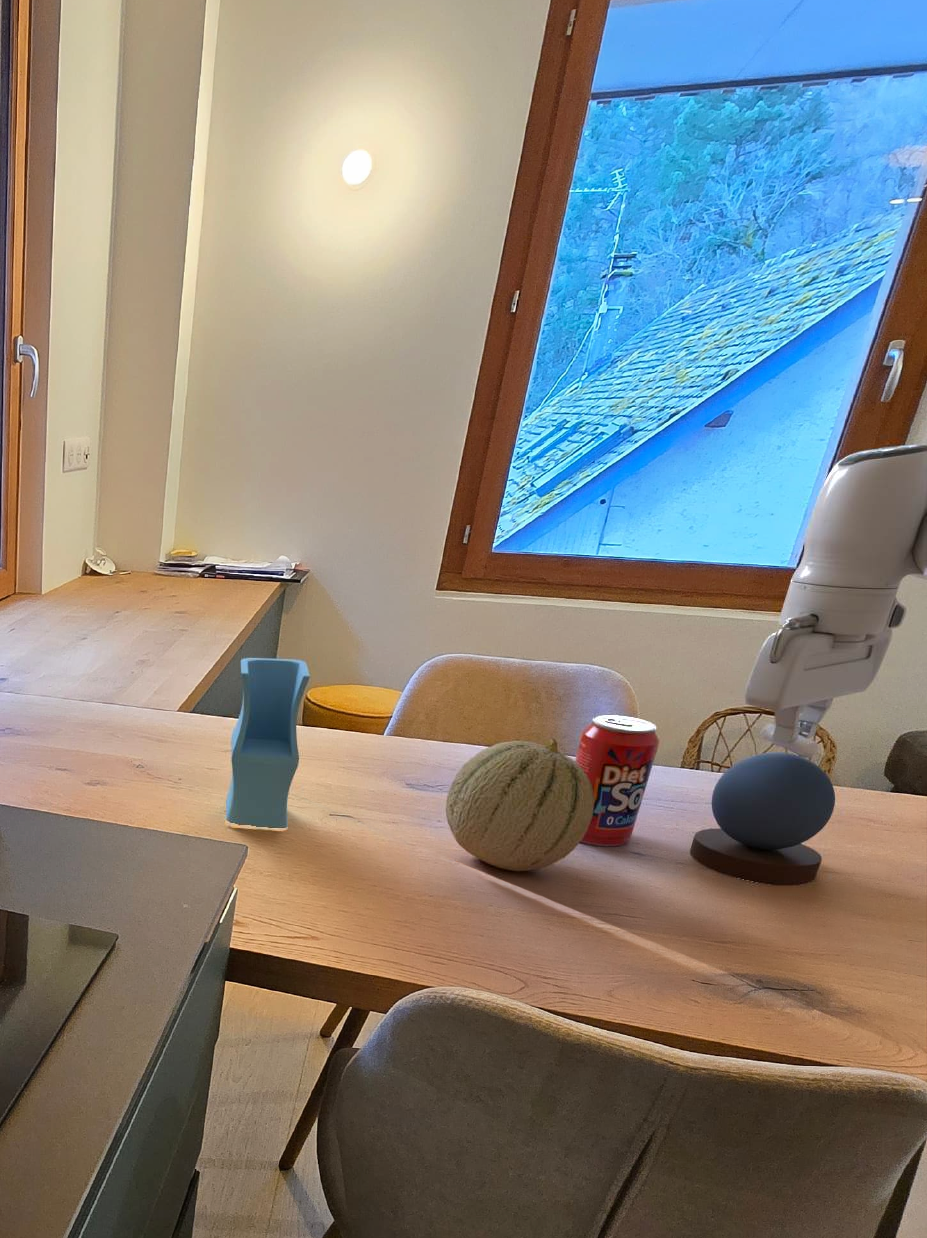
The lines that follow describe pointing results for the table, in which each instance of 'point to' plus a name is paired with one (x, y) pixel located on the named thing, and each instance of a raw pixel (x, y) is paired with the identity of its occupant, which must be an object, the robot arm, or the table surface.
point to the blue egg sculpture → (767, 820)
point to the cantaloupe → (520, 805)
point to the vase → (265, 741)
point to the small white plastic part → (792, 743)
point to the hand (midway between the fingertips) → (792, 739)
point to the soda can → (616, 774)
